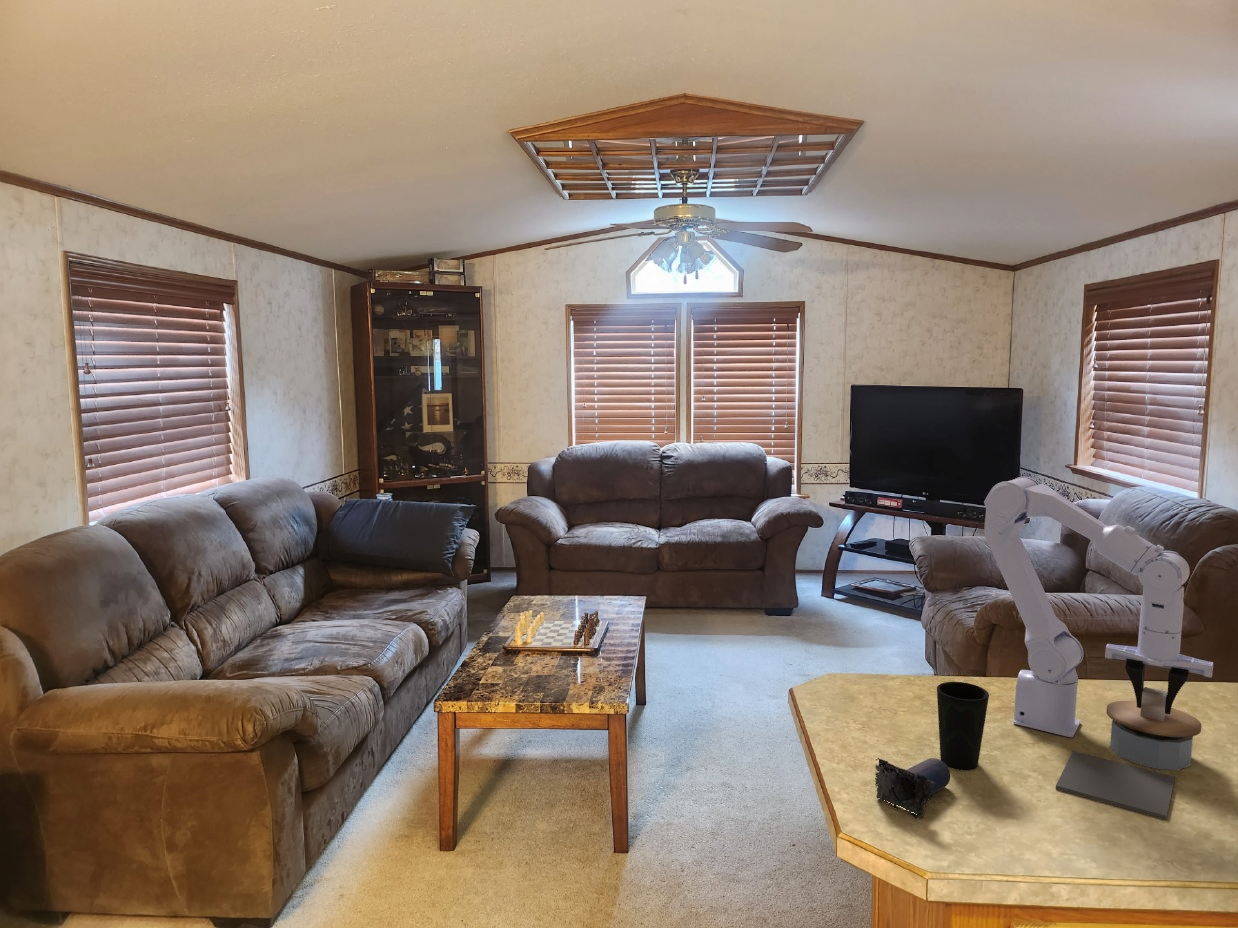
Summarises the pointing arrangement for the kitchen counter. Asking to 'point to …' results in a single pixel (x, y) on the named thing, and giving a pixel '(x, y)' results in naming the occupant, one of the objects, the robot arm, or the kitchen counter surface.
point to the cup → (961, 723)
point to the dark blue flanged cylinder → (911, 783)
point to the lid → (1154, 716)
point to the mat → (1117, 784)
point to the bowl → (1151, 748)
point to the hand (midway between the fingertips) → (1153, 708)
